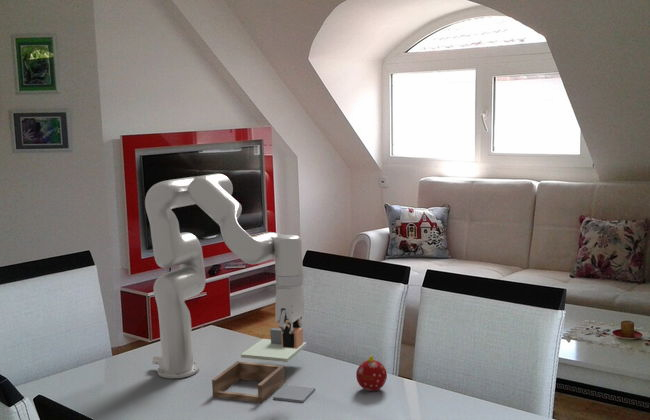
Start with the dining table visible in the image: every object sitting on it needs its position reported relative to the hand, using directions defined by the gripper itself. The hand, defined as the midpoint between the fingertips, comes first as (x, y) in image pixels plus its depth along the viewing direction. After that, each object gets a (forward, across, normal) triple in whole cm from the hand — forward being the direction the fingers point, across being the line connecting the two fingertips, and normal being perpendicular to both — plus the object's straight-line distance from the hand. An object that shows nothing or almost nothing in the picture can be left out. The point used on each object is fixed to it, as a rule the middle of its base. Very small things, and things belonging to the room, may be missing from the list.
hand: (292, 343), depth 199 cm
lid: (+10, -18, -14) cm, 25 cm away
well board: (+15, 0, -14) cm, 20 cm away
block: (+1, 0, 0) cm, 1 cm away
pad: (+15, 0, 0) cm, 15 cm away
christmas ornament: (+15, -9, +20) cm, 27 cm away
